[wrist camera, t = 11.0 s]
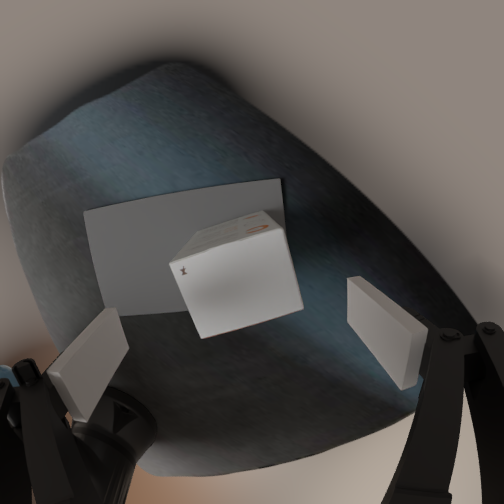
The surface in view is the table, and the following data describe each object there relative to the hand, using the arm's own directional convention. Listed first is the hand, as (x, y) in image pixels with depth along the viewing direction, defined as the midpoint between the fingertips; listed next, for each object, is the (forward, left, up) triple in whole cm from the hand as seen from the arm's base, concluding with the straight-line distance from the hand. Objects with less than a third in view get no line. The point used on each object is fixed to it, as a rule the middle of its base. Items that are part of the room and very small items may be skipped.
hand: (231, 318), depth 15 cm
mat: (-6, 0, -18) cm, 19 cm away
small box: (0, 0, -17) cm, 17 cm away
